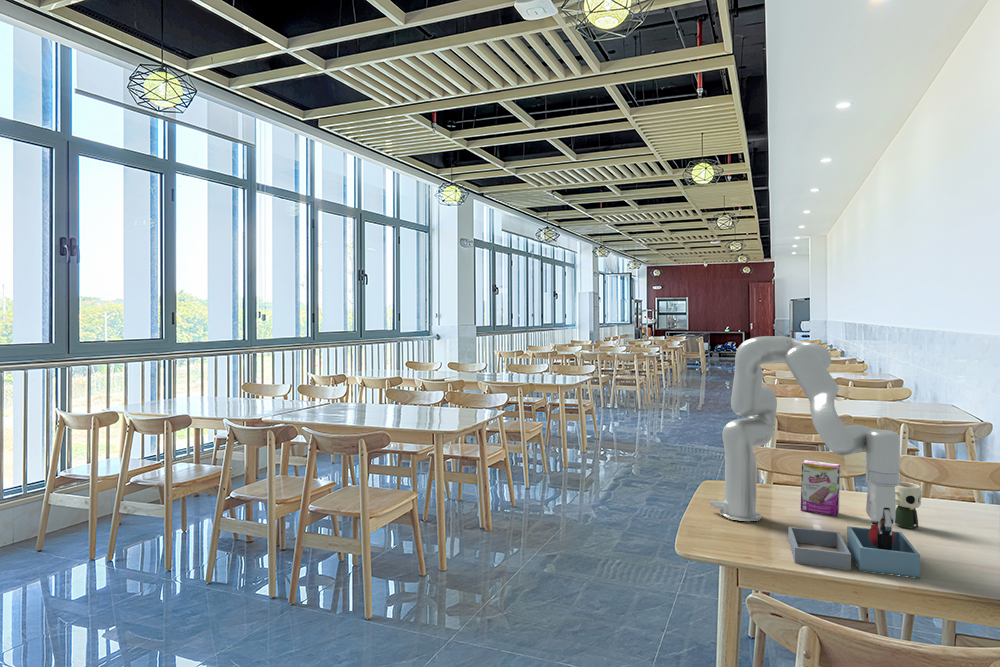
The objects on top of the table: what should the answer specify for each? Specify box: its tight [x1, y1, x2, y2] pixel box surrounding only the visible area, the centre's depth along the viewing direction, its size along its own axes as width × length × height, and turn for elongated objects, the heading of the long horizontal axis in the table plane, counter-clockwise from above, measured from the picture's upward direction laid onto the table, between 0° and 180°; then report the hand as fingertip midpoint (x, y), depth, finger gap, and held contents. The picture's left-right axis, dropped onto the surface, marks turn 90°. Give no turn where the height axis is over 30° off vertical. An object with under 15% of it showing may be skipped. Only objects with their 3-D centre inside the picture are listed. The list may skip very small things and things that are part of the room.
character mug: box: [894, 481, 923, 529], centre depth 187 cm, size 11×7×13 cm, turn 103°
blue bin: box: [846, 525, 921, 579], centre depth 160 cm, size 13×17×6 cm
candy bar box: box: [800, 459, 841, 517], centre depth 200 cm, size 11×5×16 cm, turn 58°
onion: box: [869, 520, 894, 547], centre depth 160 cm, size 6×6×8 cm
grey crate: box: [787, 526, 852, 571], centre depth 165 cm, size 13×17×4 cm
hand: (881, 544), depth 160 cm, fingers closed on onion, 5 cm apart
